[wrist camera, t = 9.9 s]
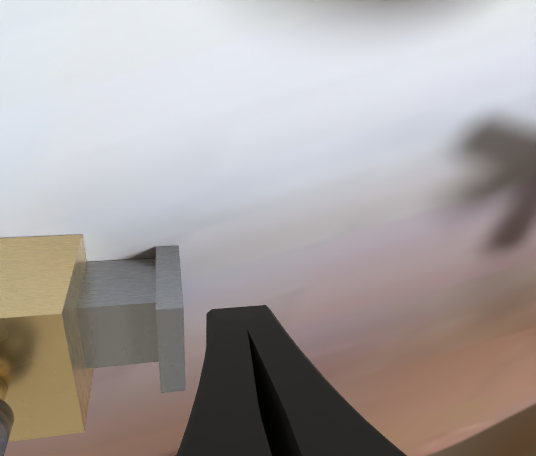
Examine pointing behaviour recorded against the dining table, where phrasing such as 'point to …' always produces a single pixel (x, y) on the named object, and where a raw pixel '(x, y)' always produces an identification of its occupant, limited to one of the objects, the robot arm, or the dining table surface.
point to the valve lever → (5, 425)
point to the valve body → (81, 327)
